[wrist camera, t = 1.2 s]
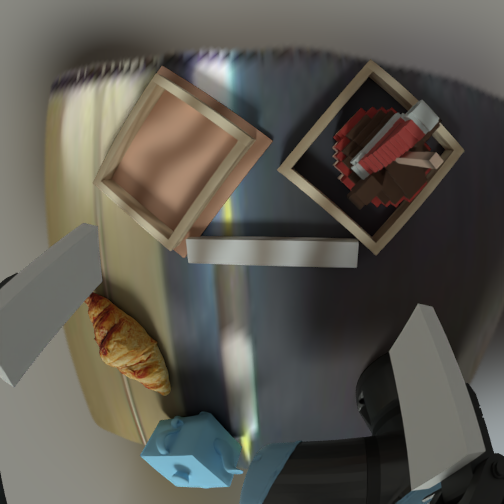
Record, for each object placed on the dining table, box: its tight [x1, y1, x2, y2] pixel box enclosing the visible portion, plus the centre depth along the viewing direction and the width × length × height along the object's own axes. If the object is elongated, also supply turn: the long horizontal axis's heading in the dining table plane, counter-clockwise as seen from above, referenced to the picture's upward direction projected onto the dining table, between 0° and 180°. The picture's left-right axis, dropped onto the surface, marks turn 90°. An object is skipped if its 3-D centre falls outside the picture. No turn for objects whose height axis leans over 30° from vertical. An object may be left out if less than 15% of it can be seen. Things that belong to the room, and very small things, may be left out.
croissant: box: [84, 292, 171, 396], centre depth 43 cm, size 21×10×8 cm, turn 35°
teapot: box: [140, 411, 243, 488], centre depth 43 cm, size 18×16×13 cm
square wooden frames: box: [93, 59, 464, 268], centre depth 31 cm, size 34×32×3 cm
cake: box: [332, 100, 444, 210], centre depth 22 cm, size 11×9×18 cm
